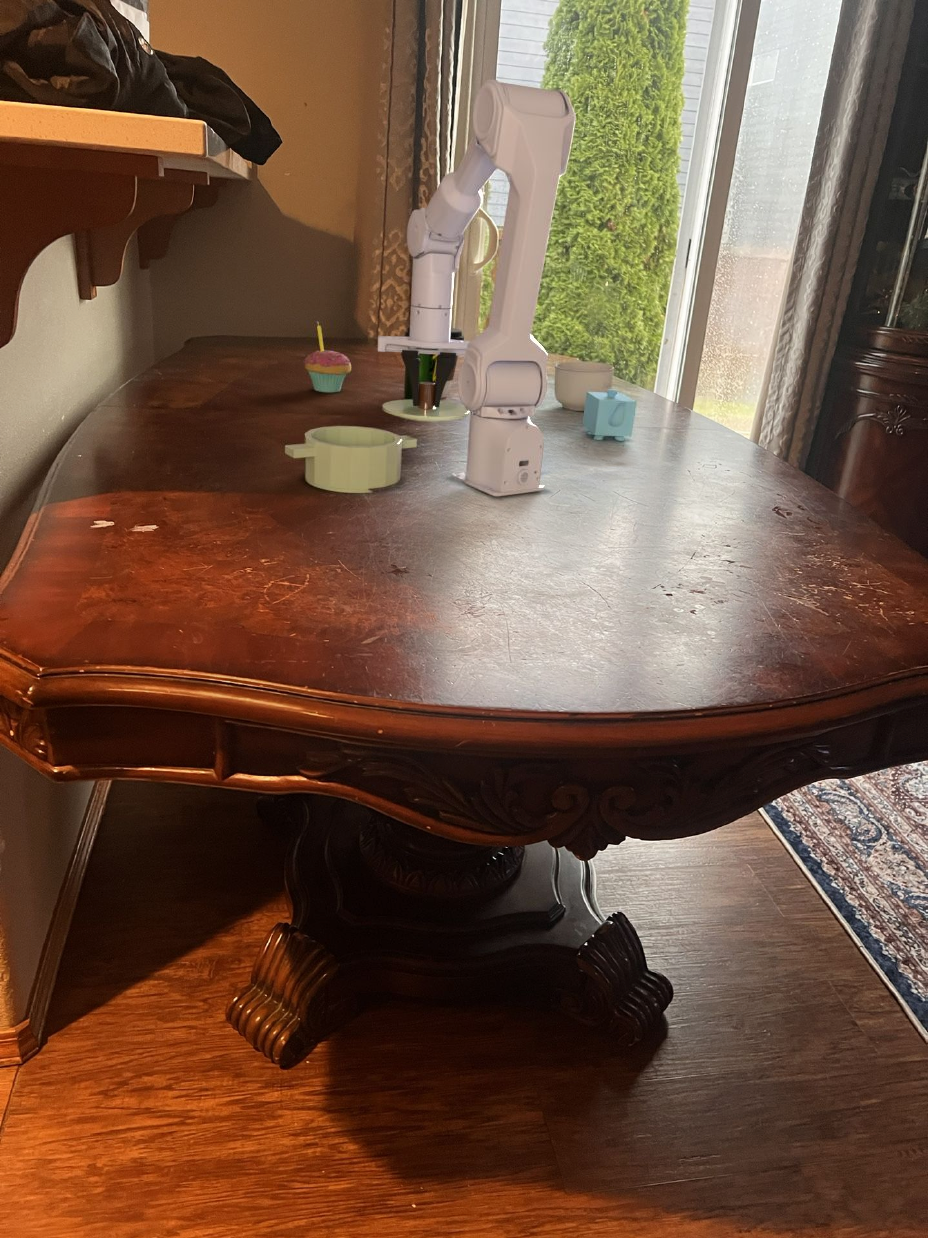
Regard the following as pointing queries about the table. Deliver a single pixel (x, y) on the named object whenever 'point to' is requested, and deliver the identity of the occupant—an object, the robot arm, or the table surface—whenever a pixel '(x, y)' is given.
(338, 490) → the pale green cooking pot
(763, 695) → the table surface
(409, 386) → the beer can
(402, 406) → the pale green pot lid
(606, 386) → the teacup
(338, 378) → the cupcake
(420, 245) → the robot arm
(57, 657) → the table surface
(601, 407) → the teapot
